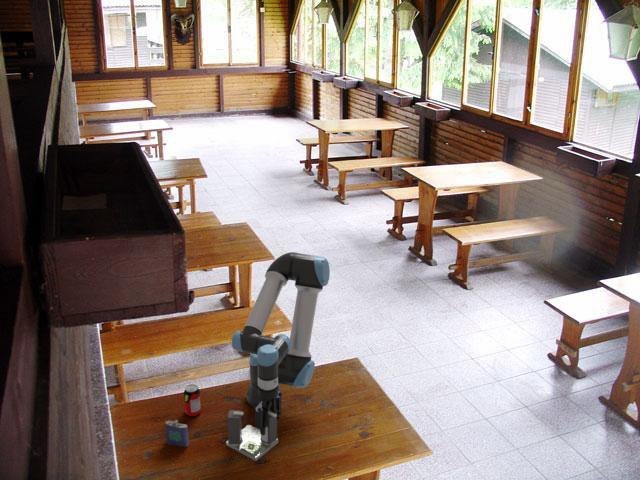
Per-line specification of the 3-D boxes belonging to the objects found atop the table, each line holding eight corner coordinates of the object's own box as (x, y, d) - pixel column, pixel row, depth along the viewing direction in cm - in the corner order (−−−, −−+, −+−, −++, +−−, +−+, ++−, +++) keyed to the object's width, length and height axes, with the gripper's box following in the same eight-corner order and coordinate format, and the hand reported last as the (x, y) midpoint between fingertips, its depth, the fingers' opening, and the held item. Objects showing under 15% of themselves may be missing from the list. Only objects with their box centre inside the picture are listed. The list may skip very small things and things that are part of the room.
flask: (190, 443, 245) (188, 420, 241) (186, 448, 242) (184, 425, 238) (168, 439, 247) (166, 416, 243) (164, 443, 244) (162, 420, 240)
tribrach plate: (225, 445, 244) (224, 438, 243) (248, 426, 254) (248, 420, 253) (256, 462, 236) (255, 455, 235) (279, 442, 246) (279, 435, 245)
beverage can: (199, 406, 266) (198, 382, 261) (202, 415, 260) (200, 391, 256) (184, 409, 264) (182, 385, 260) (186, 418, 258) (184, 393, 254)
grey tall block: (260, 440, 244) (260, 412, 240) (268, 434, 248) (267, 406, 243) (272, 446, 241) (271, 418, 237) (279, 439, 245) (279, 412, 240)
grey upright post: (228, 443, 242) (227, 416, 237) (230, 436, 246) (229, 408, 241) (243, 444, 242) (242, 416, 237) (245, 436, 246) (244, 409, 241)
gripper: (260, 400, 227) (261, 453, 236) (291, 377, 240) (291, 428, 249) (244, 392, 231) (246, 444, 240) (275, 371, 244) (276, 421, 253)
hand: (268, 436), depth 244 cm, fingers closed on grey tall block, 4 cm apart
